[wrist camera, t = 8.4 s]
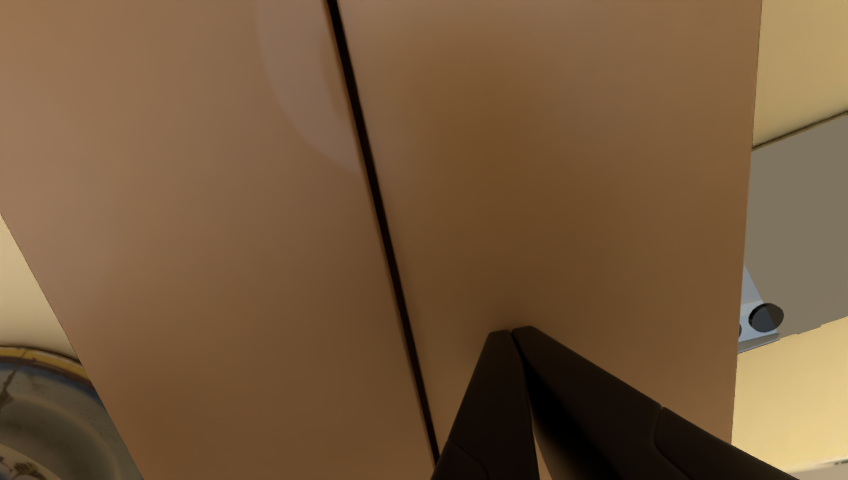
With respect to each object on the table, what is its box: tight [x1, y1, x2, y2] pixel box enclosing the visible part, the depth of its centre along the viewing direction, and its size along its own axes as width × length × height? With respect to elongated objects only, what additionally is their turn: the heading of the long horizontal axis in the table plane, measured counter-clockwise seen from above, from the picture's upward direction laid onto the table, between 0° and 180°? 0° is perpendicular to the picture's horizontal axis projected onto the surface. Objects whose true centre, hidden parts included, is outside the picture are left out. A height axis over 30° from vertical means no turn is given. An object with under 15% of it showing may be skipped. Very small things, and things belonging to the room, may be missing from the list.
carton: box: [0, 0, 440, 480], centre depth 12 cm, size 13×16×7 cm
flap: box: [337, 0, 762, 480], centre depth 9 cm, size 6×16×1 cm, turn 11°
